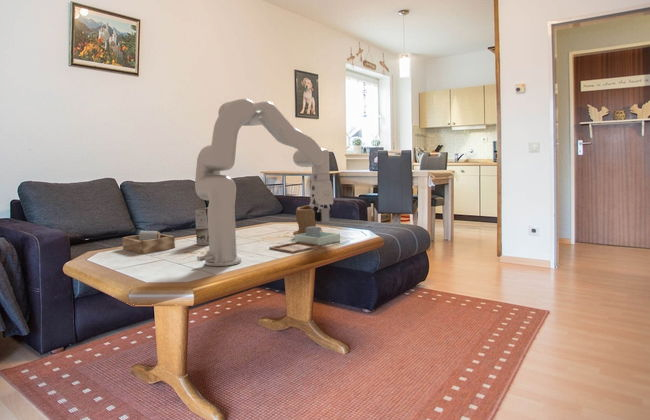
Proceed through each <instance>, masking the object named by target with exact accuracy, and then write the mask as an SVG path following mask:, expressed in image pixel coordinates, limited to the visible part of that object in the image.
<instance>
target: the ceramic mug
mask: <svg viewBox="0 0 650 420" xmlns="http://www.w3.org/2000/svg"><path fill="white" fill-rule="evenodd" d="M160 234H161V232H160V231H157V230H140V231H139V233H138V235H139V241H144V240H151V239H158V238H161V235H160Z"/></svg>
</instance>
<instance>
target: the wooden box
mask: <svg viewBox="0 0 650 420" xmlns="http://www.w3.org/2000/svg"><path fill="white" fill-rule="evenodd" d="M160 235H161V238H158V239H151V240H144V241H139V234H137V235H130V236H124V237H122V239H121V240H122V249H123V250H125V251H129V252H133V253H136V254H141V255H142V254H147V253H154V252H160V251H165V250H171V249H176V243H175V242H176V241H175V236H174V235H169V234H166V233H165V234H164V233H160Z"/></svg>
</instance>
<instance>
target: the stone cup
mask: <svg viewBox="0 0 650 420" xmlns="http://www.w3.org/2000/svg"><path fill="white" fill-rule="evenodd" d="M295 219H296V222H297V223H296V224H297V225H298V226H297V227H298V230H296V231H295V230H294V231H293V232H292V235H294V236H295V235H298V234H303V233H306V227H311V226H316V227H317V225H316V224H317V222H315V212H314V211H313V209H312V208H311V207H310V206H309V204H307V205H302V206H298V207H297V208H296V210H295ZM319 227H320V231H321V232H324V231H323V229H322V227H321V226H319Z"/></svg>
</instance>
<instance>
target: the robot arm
mask: <svg viewBox="0 0 650 420" xmlns="http://www.w3.org/2000/svg"><path fill="white" fill-rule="evenodd" d="M261 125H262V127H264V128H265V130H266V131H267V132H268V133H269V134H270V135H271V136H272V138H274V139H275V140H276V142H278V143H280V144H282V145H284V146H289V147H291V148H294V149H296V151H295V152H294V153H293V155H292V160H293V163H294V164H295V165H296V166H297V167H301V168H309V167H310V168H311V180H312V181H311V184H310V195H309V196H310V202H309V204H308V205H309V206H310V207H311V208H312V209H313V211H314V212H315V221H321V212H320V207H324V208H329V212H330V211H331V208H332V206H333V205H334V203H335V202H334V190H333V186H332V181H331V178H330V152H329V150H328V149H326V148H321V146H319V144H318V143H317V142H316V141H315V140H314V139H313V138H312V137H311V136H309V135H308V134H306V133H304V132H303V131H301V130H300V129H298V128H296V127H295V126H293V125H292V124H291V122H290V121H289V120H288V119H287V118H286V117H285V115H284V114H283V113H282V112H281V111H280V110H279V108H278V107H276V105H275V104H274V103H273V102H271V101H268V100H267V101H260V102H255V103H254V102H253V101H252V100H250V99H249V98H240V99H235V100H231V101H228V102H224V103H223V104H221V105H220V106H219V109H218V117H217V118H216V120H215V123H214V126H213V132H212V137H211V144H210V145H206V146H204V147H202V149H201V150H200V151H199V153H198V155H197V157H196V169H195V180H194V189H195V192H196V194H197V196H198V197H199V199H201V200H204V201H209V203H208V206H207V207H208V213H207V217H208V234H209V245H208V248H209V249H208V251H206V253H204V254H202V255H197V257H196V260H197V262H203V261H205V262H204V263H205V265H207V266H211V267H226V266H234V265H237V264H240V263H241V262H242V258H241V257H240V256H237V255H238V254H237V235H236V216H235V215H236V214H235V211H236V208H235V207H236V205H235V204H236V196H237V185H236V183H235V181H234V180H233V178H231V177H230V176H229V175H226V174H221V172H227V171H229V170H231V169H232V168H233V167H234V166H235V162H236V152H237V144H238V143H237V141H238V140H237V139H238V137H239V136H238V135H239V131H240V129H241V128H242V127H243V126H244V127H245V126H246V127H247V126H248V127H249V126H251V127H252V126H261Z"/></svg>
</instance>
